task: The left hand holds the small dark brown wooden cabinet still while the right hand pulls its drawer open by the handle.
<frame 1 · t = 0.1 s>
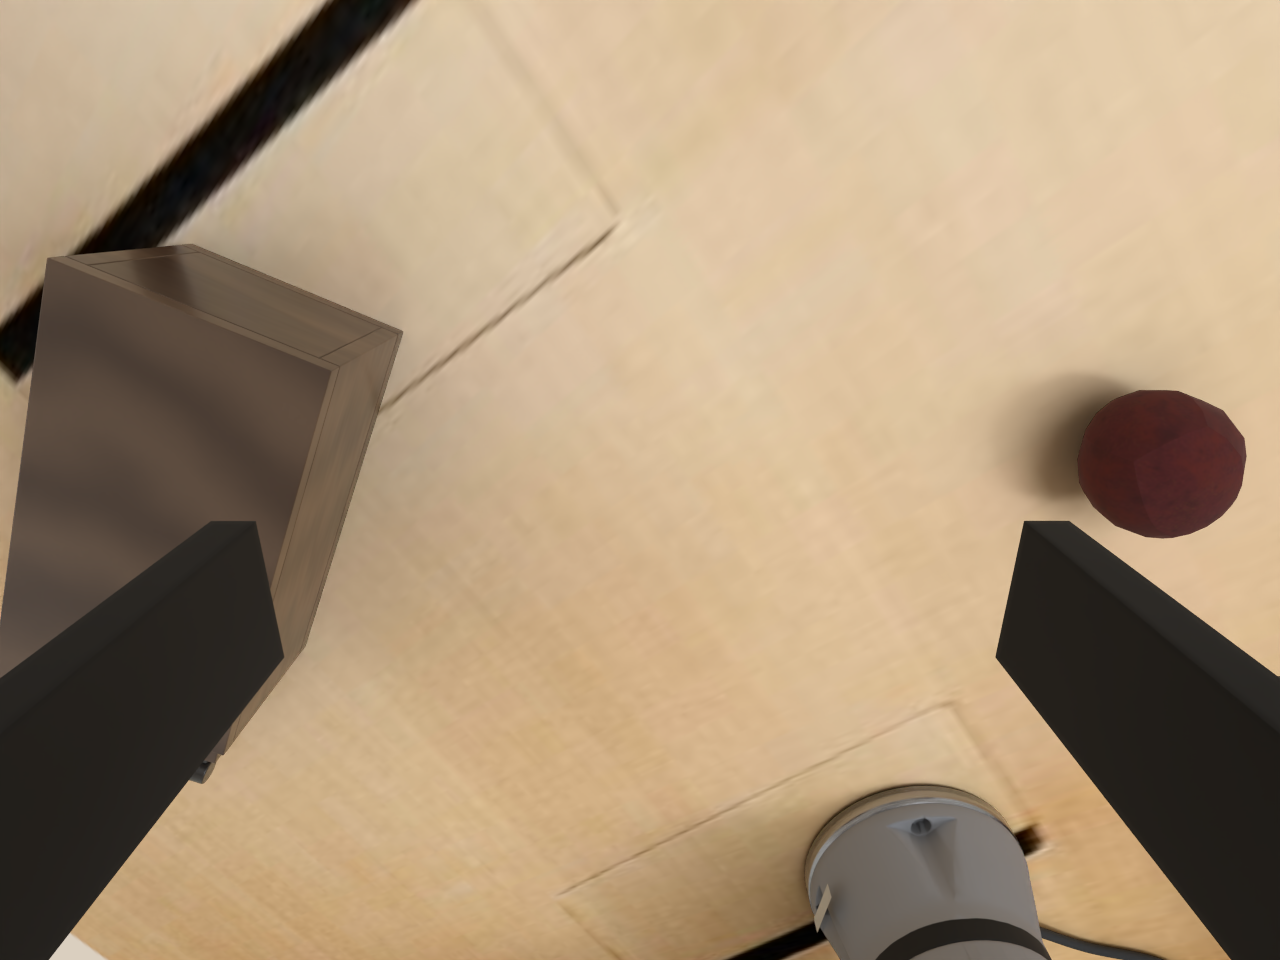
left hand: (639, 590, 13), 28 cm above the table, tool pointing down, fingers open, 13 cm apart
cabinet: (254, 466, 42), on the table
drawer: (187, 583, 39), point 5 cm above the table, slide at 0.6 cm
dark maroon ball: (1114, 439, 41), on the table
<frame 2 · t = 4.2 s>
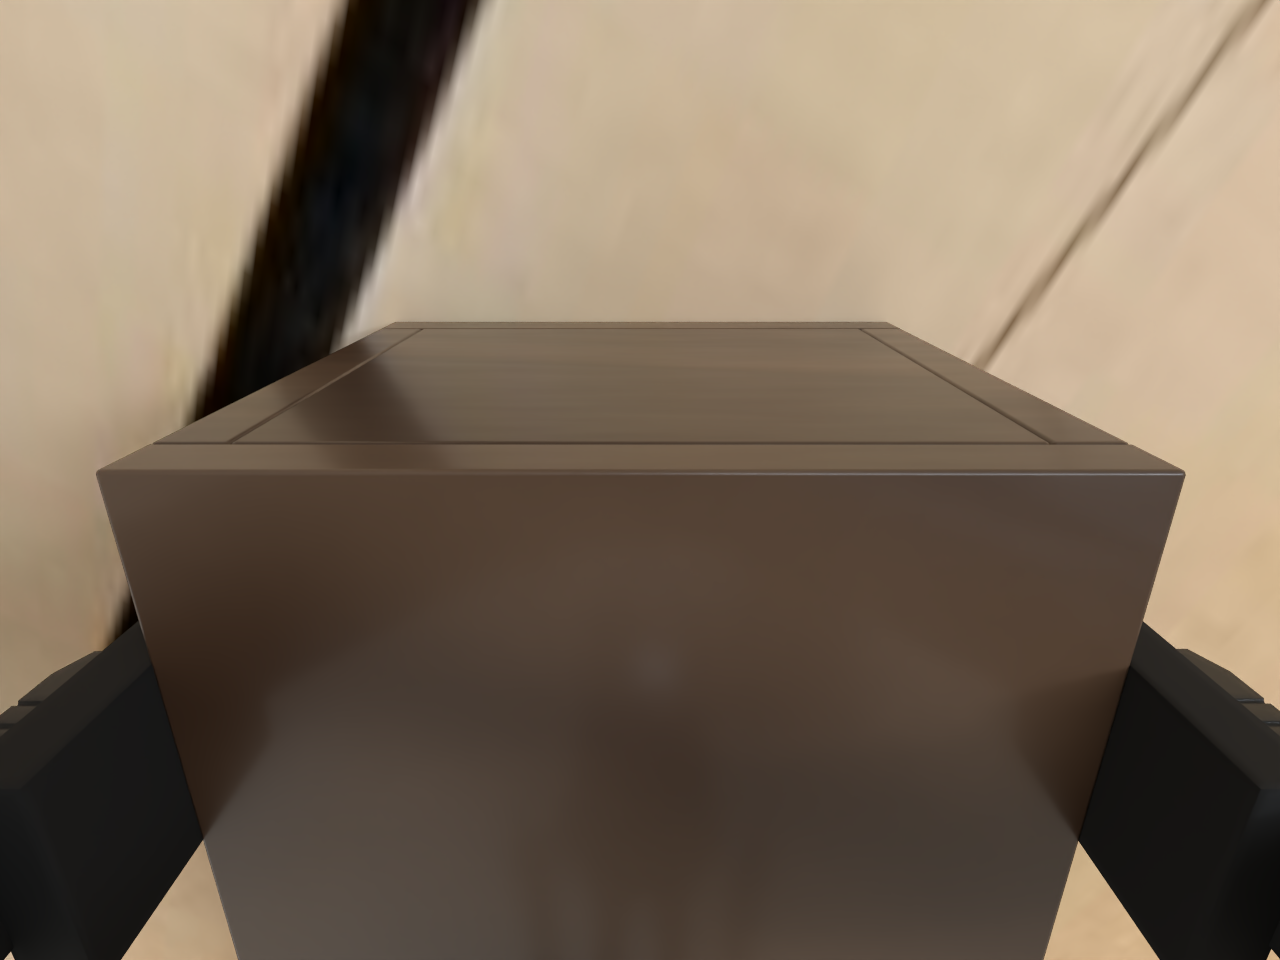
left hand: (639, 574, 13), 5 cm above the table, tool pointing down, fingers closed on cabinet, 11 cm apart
cabinet: (640, 709, 20), on the table, touching left hand
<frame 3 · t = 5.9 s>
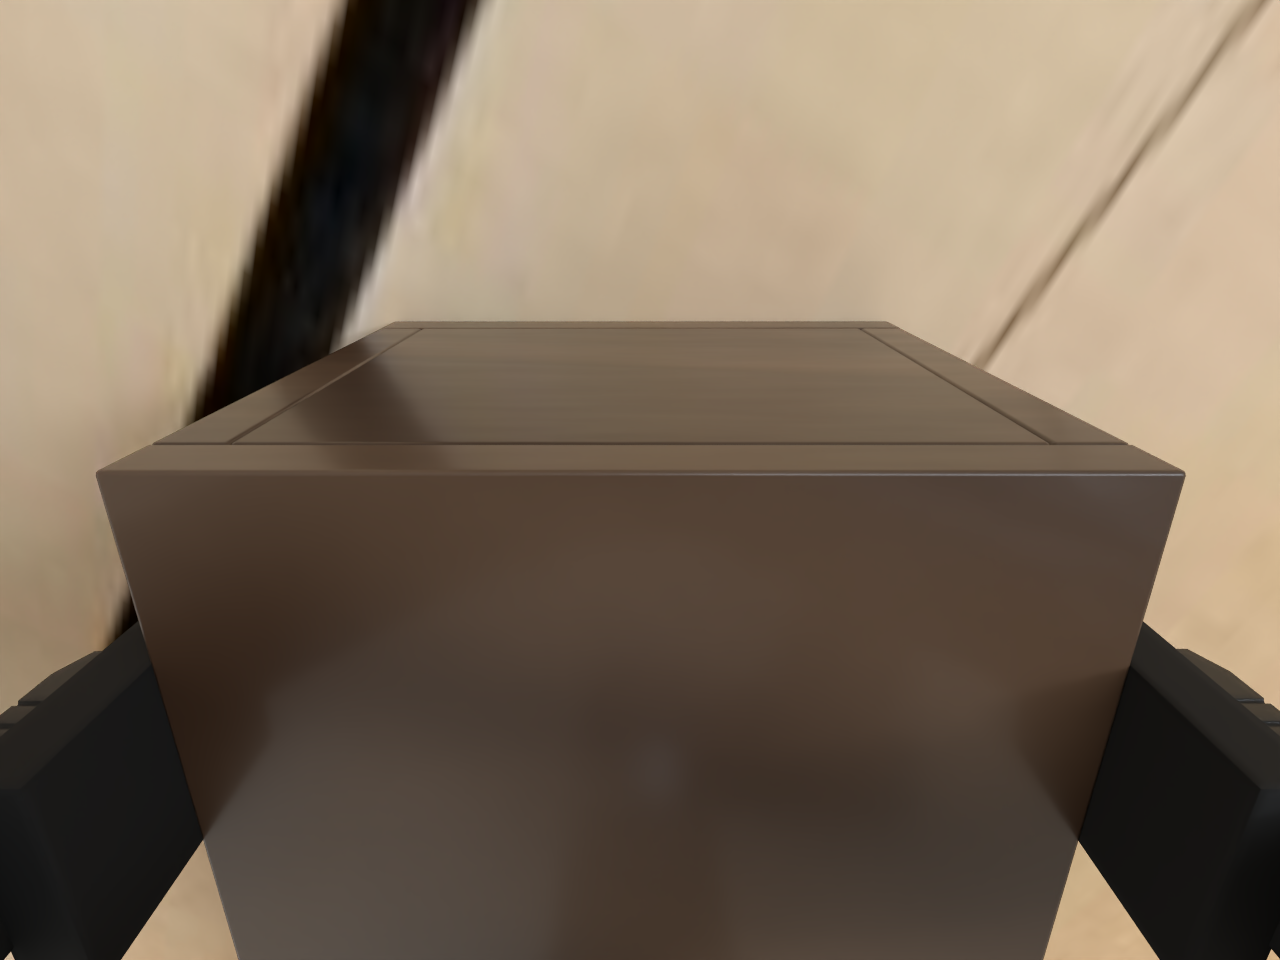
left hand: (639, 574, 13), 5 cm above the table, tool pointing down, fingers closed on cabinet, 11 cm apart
cabinet: (640, 708, 20), on the table, touching left hand
when the left hand's fingers open (5 cm above the table, at t = 9.3 s): cabinet stays where it is, on the table.
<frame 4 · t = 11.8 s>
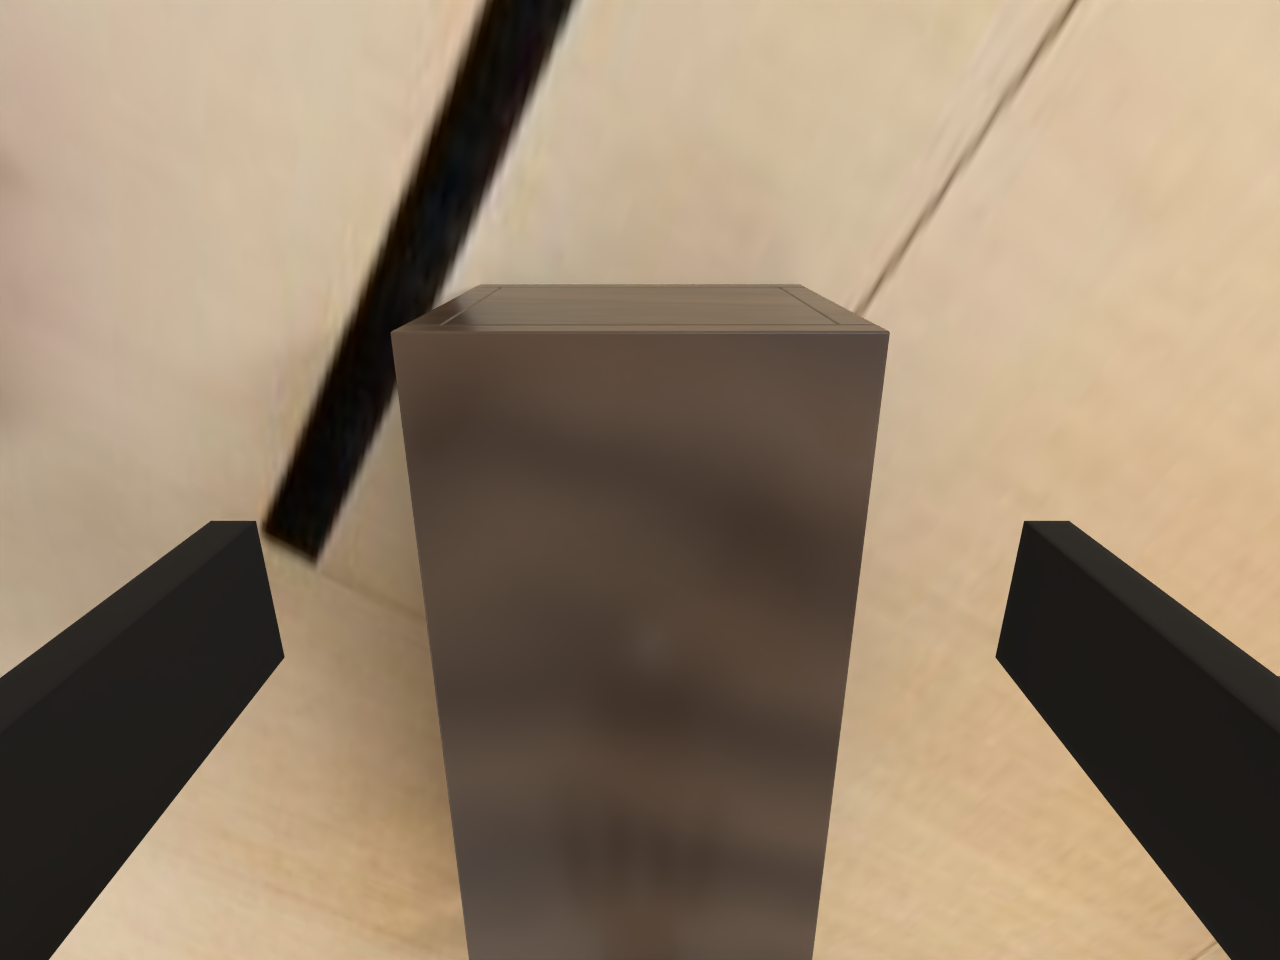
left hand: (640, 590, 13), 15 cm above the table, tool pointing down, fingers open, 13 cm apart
cabinet: (640, 560, 29), on the table
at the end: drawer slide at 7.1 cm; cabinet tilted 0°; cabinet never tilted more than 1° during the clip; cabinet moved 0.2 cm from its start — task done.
